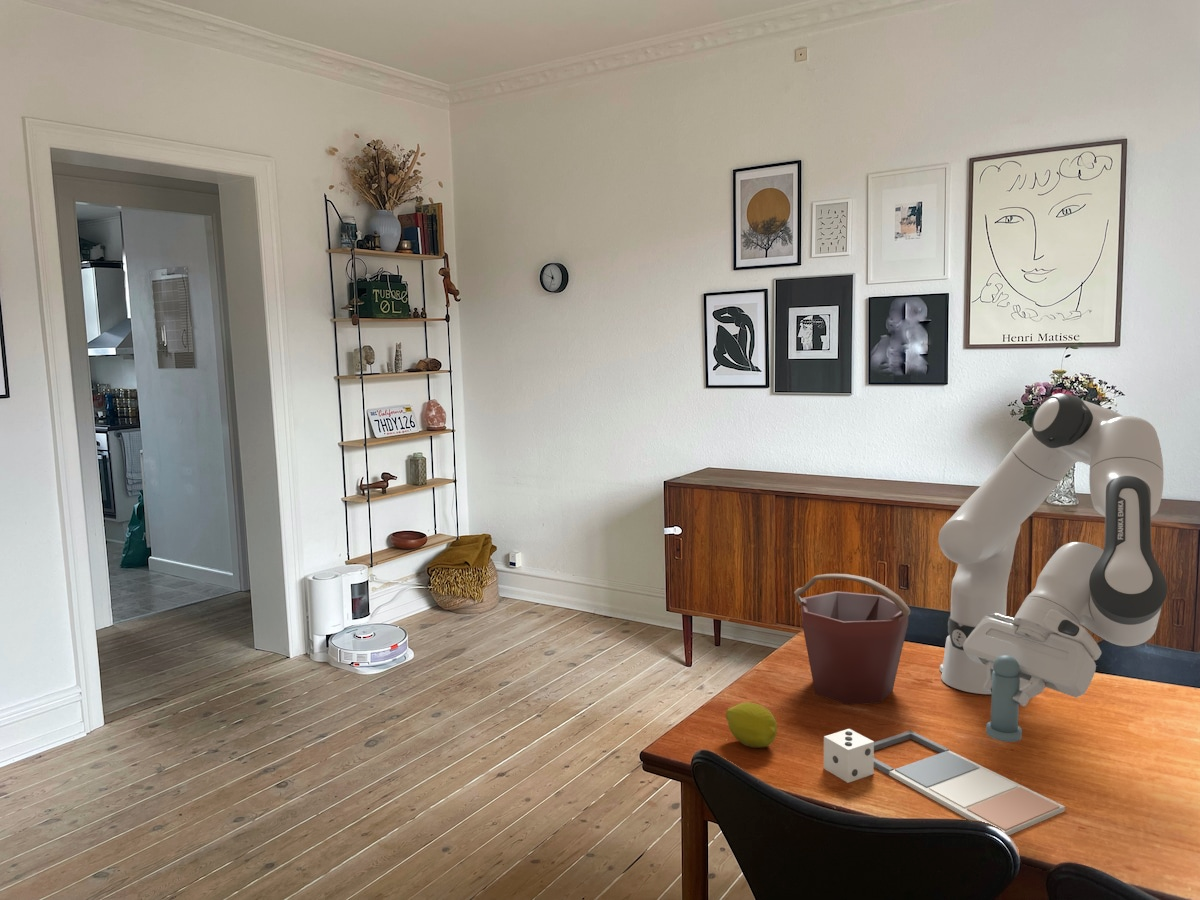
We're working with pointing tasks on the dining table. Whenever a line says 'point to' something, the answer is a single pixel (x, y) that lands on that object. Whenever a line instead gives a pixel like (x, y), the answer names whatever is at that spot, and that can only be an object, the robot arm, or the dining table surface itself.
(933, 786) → the game board
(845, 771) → the die
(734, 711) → the lemon
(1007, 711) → the pawn
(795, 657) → the dining table surface
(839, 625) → the bucket
